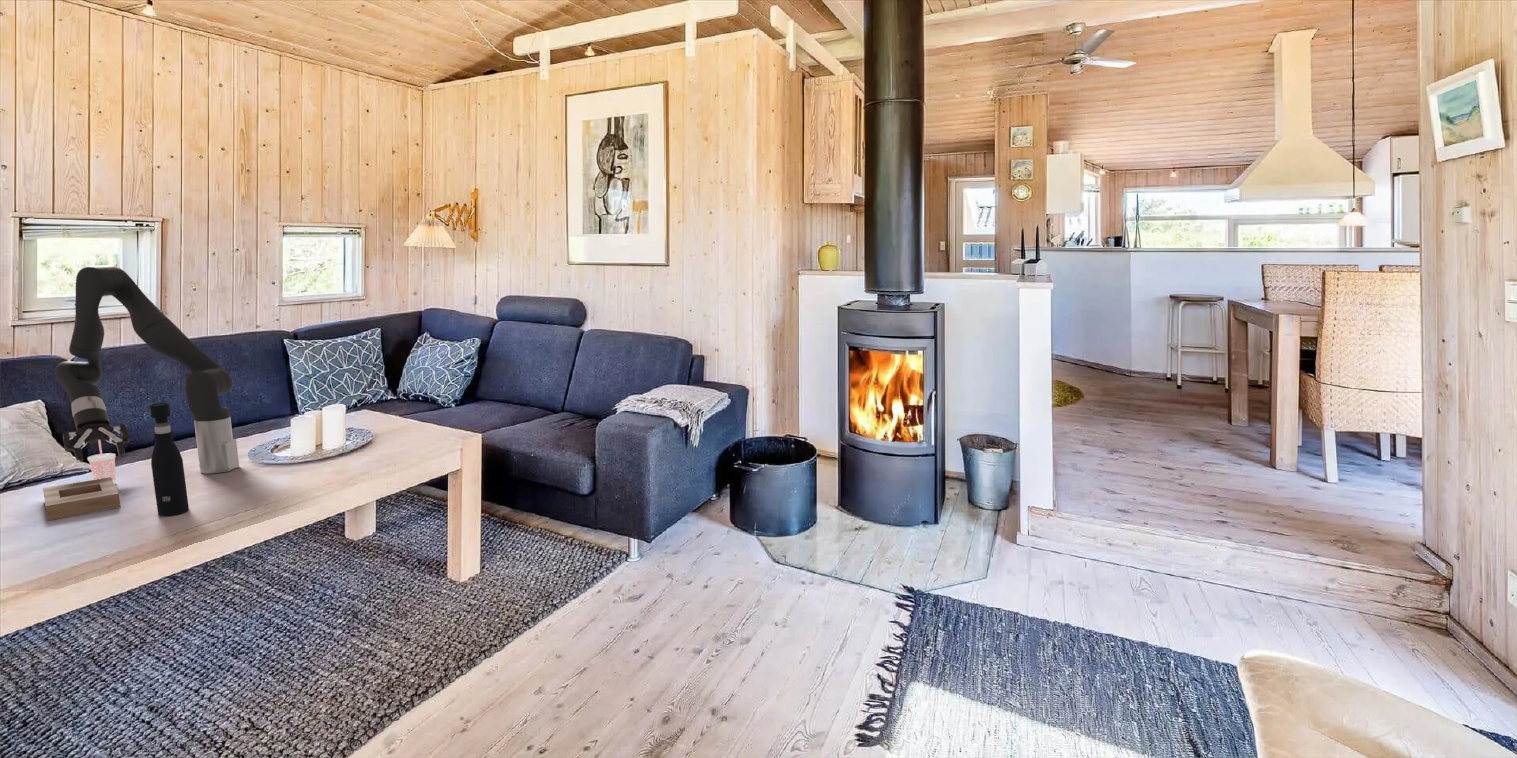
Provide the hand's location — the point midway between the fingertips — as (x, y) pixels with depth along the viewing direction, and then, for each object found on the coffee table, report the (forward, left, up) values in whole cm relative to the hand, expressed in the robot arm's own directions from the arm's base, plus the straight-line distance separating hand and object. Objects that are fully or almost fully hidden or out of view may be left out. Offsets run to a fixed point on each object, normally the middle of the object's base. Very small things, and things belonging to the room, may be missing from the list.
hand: (101, 457), depth 205 cm
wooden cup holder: (-6, +18, -8) cm, 21 cm away
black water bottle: (-34, +28, -9) cm, 45 cm away
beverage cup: (0, 0, -9) cm, 9 cm away
